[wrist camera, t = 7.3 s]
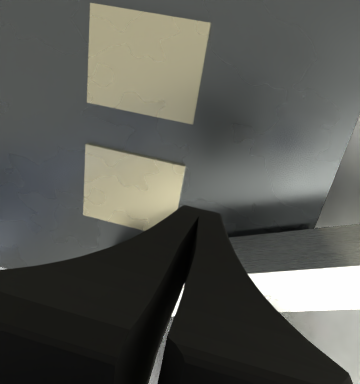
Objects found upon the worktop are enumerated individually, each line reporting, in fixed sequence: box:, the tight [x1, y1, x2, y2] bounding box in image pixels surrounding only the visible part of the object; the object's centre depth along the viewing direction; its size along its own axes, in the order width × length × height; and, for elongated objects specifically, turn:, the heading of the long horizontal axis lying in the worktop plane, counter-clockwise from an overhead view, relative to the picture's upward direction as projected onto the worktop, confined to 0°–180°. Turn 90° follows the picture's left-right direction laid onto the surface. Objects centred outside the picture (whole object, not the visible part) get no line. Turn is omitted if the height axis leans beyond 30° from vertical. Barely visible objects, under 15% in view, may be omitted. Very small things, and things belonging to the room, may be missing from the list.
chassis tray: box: [0, 0, 360, 317], centre depth 14 cm, size 18×19×5 cm
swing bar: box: [172, 224, 360, 316], centre depth 14 cm, size 2×16×3 cm, turn 105°
